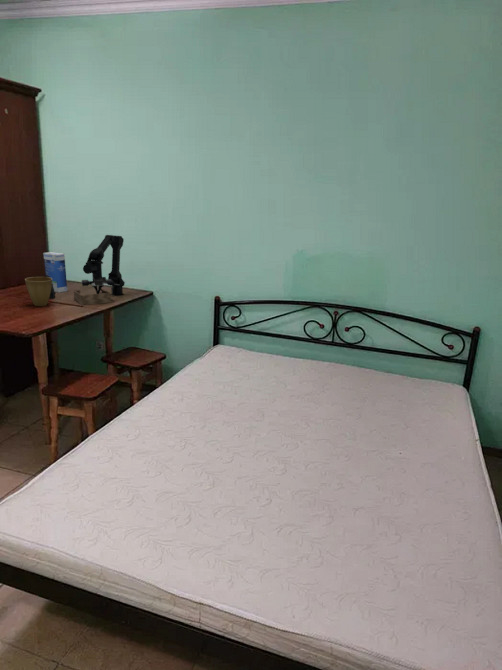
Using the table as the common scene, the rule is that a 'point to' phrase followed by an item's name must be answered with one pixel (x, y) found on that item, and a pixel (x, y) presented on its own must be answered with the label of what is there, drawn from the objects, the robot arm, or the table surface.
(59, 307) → the table surface
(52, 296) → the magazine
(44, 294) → the plant pot
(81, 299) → the crate
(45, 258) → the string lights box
